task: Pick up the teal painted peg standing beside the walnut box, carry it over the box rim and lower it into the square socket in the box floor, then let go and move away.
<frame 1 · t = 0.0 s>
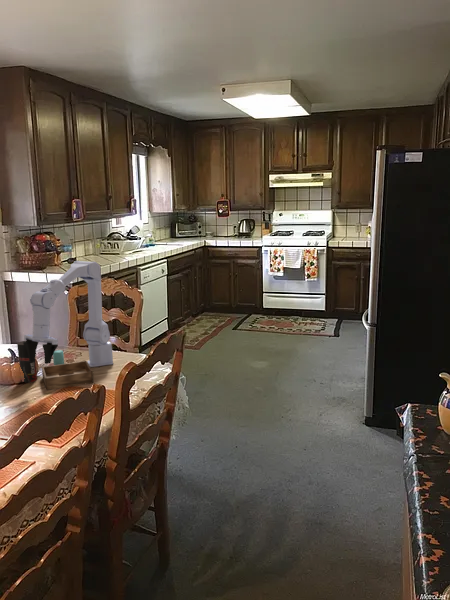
hand: (39, 361, 191), 11 cm above the table, tool pointing down, fingers open, 7 cm apart
peg: (59, 370, 212), on the table
deodorant: (29, 380, 202), on the table
box: (67, 380, 201), on the table
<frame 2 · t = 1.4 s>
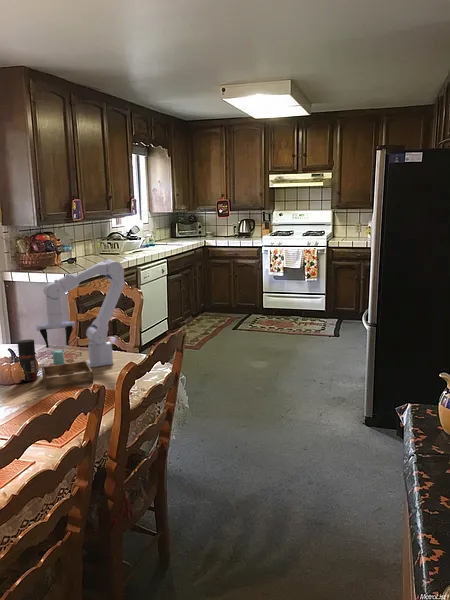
hand: (57, 346, 210), 10 cm above the table, tool pointing down, fingers open, 7 cm apart
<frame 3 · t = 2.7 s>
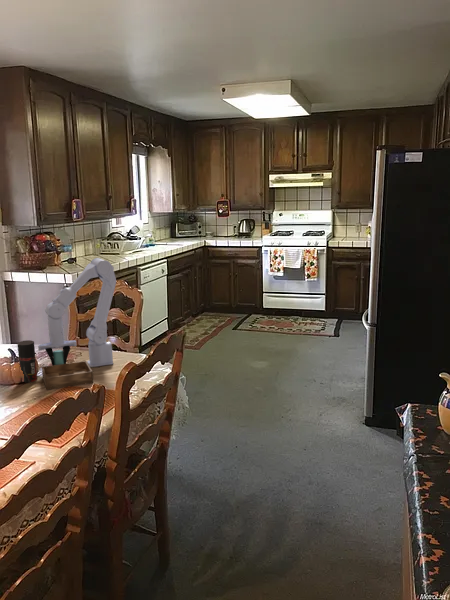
hand: (59, 364, 212), 2 cm above the table, tool pointing down, fingers closed on peg, 4 cm apart
peg: (59, 370, 212), on the table, touching gripper
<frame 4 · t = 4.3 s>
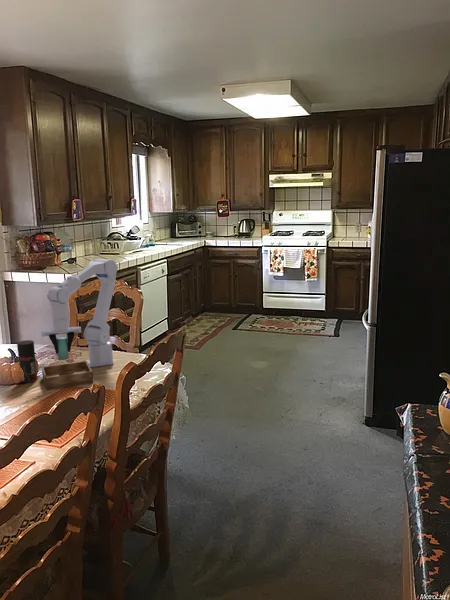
hand: (62, 352, 204), 10 cm above the table, tool pointing down, fingers closed on peg, 4 cm apart
peg: (63, 358, 204), point 7 cm above the table, touching gripper
everything else where it was.
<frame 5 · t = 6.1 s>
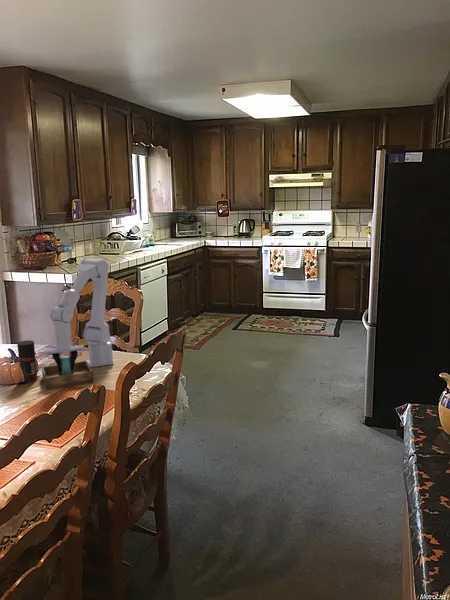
hand: (66, 370, 203), 3 cm above the table, tool pointing down, fingers closed on peg, 4 cm apart
peg: (66, 377, 204), resting in box, touching gripper
everything else where it was.
when the fingers open (3 cm above the table, at t = 6.2 s): peg stays where it is, resting in box.
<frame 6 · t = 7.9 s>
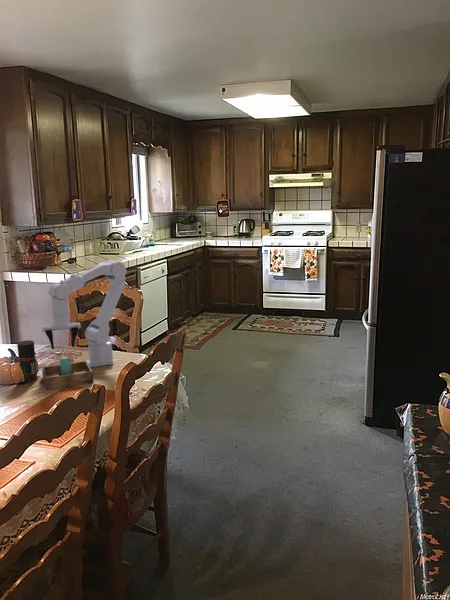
hand: (62, 347, 209), 10 cm above the table, tool pointing down, fingers open, 7 cm apart
peg: (66, 377, 204), resting in box
everything else where it was.
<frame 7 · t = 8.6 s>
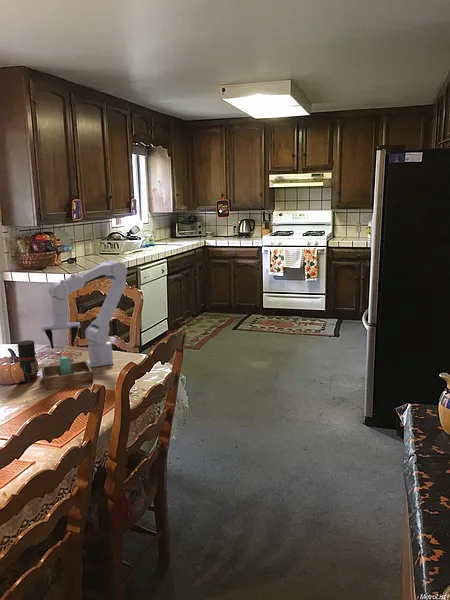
hand: (62, 346, 209), 10 cm above the table, tool pointing down, fingers open, 7 cm apart
nothing on the table moved.
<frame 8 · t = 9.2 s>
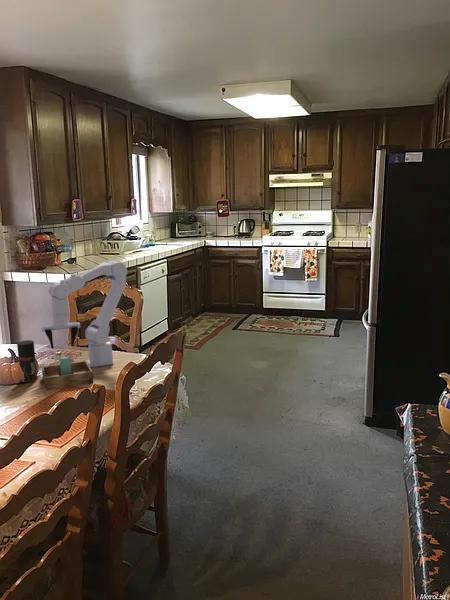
hand: (62, 346, 209), 10 cm above the table, tool pointing down, fingers open, 7 cm apart
nothing on the table moved.
at the end: peg 0.1 cm from the target spot, resting in box; peg tilted 0°; the gripper is holding nothing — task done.
